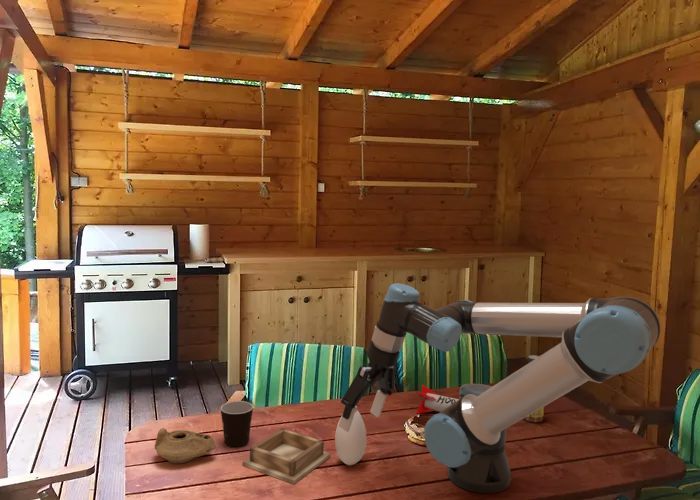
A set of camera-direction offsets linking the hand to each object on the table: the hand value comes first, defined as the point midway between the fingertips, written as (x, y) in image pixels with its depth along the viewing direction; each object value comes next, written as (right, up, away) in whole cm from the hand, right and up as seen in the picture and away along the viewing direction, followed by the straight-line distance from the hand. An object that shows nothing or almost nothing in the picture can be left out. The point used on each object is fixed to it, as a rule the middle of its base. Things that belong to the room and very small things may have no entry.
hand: (359, 421), depth 143 cm
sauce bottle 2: (-2, -12, +4) cm, 13 cm away
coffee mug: (-33, -10, +15) cm, 37 cm away
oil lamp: (-45, -11, +4) cm, 46 cm away
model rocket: (+30, -9, +36) cm, 48 cm away
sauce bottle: (+54, -10, +34) cm, 65 cm away
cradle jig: (-19, -11, +4) cm, 22 cm away
